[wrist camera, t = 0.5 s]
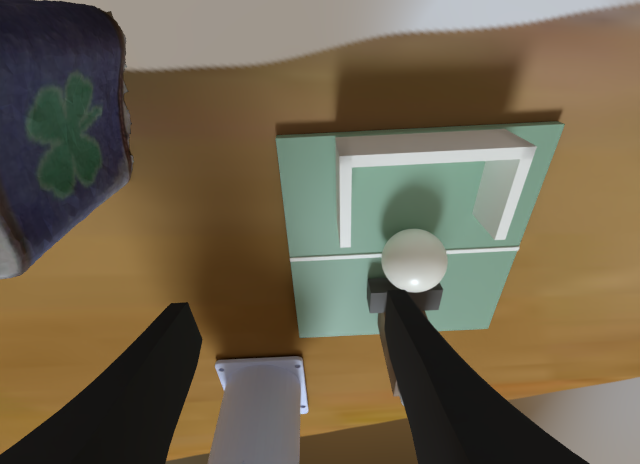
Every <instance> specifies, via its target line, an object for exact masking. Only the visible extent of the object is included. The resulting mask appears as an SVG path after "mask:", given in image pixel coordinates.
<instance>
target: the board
mask: <svg viewBox="0 0 640 464" xmlns="http://www.w3.org/2000/svg"><path fill="white" fill-rule="evenodd" d="M564 125H565V124H563V123H561V122H558V121H553V122H533V123H513V124H493V125H473V126H453V127H433V128H413V129H393V130H373V131H353V132H333V133H313V134H293V135H277V136H276V145H277V154H278V162H279V171H280V179H281V187H282V196H283V204H284V212H285V221H286V229H287V237H288V246H289V254H290V262H291V271H292V279H293V287H294V296H295V304H296V312H297V321H298V329H299V337H300V338H307V337H328V336H348V335H369V334H380V333H379V329H378V324H377V323H378V313H370V312H369V307H368V303H367V283H368V279H373V278H387V277H386V275H385V273H384V271H383V268H382V263H381V256H382V251H383V248H384V246H385V244H386V243H387V241H388V240H389V239H390V238H391V237H392V236H393V235H395V234H396V233H398V232H400V231H403V230H406V229H421V230H425V231H428V232H430V233H431V234H433V235H434V236H436V237H437V238H438V239H439V240H440V241H441V243H442V244H443V246H444V248H445V250H446V253H447V257H448V265H447V270H446V273H445V275H444V277H443V278H442V280H441V281H440V284H441V286H442V288H443V293H442V298H441V302H440V306H439V310H429V311H425V312H426V315H427V318H428V320H429V321H430V323H431V324H432V325H433V326H434V328H435V329H436V330H437V331H451V330H471V329H488V327H489V324H490V322H491V319H492V316H493V314H494V311H495V308H496V306H497V303H498V300H499V298H500V295H501V292H502V290H503V287H504V284H505V282H506V279H507V276H508V274H509V271H510V268H511V266H512V263H513V260H514V258H515V255H516V253H517V251H518V250H519V248H520V247H519V245H520V242H521V239H522V237H523V234H524V231H525V229H526V226H527V223H528V221H529V218H530V215H531V213H532V210H533V207H534V205H535V202H536V199H537V197H538V194H539V191H540V189H541V186H542V183H543V181H544V178H545V176H546V173H547V170H548V168H549V165H550V162H551V160H552V157H553V154H554V152H555V149H556V146H557V144H558V141H559V138H560V136H561V133H562V130H563V128H564ZM492 129H506V130H508V131H509V132H511V133H513V134H515V135H517V136H519V137H521V138H522V139H524V140H526V141H528V142H530V143H532V144H533V145H535V146H537V148H536V151H535V154H534V157H533V160H532V163H531V166H530V169H529V171H528V174H527V177H526V180H525V183H524V186H523V189H522V192H521V195H520V198H519V201H518V204H517V207H516V209H515V212H514V215H513V218H512V221H511V224H510V227H509V230H508V233H507V236H506V239H505V240H494V239H493V238H492V237H491V235H490V234H489V233H488V232H487V231H486V229H485V228H484V227H483V226H482V225H481V224H480V222H479V221H478V220H477V219H476V218H475V217H474V215H473V214H472V212H473V208H474V204H475V201H476V197H477V193H478V189H479V185H480V181H481V177H482V173H483V169H484V166H485V162H486V161H474V162H454V163H434V164H414V165H394V166H374V167H354V168H352V193H351V247H346V248H340V242H339V235H338V227H337V217H336V153H335V137H352V136H372V135H392V134H412V133H432V132H452V131H472V130H492Z"/></svg>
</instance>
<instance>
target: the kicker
mask: <svg viewBox="0 0 640 464" xmlns="http://www.w3.org/2000/svg"><path fill="white" fill-rule="evenodd" d="M387 290H401V289H399V288H397V287H396V286H394V285H393V284H392V283H391V282H390V281H389V280H388V278H373V279H368V283H367V303H368V307H369V312H370V313H378V323H377V324H378V329H379V333H380V338H381V342H382V347H383V351H384V356H385V360H386V365H387V369H388V374H389V378H390V383H391V387H392V392H393V396H400V399H401V403H402V404H403V400H402V397H401V394H400V390H399V387H398V384H397V381H396V377H395V374H394V371H393V367H392V364H391V360H390V357H389V352H388V347H387V342H386V336H385V331H384V325H385V313H386V301H387ZM442 293H443V288H442V286H441V284H440V282H439V283H438V284H437V285H436V286H435V287H433V288H431V289H429V290H427V291H424V292H417V293H414V292H408V294H409V295H410V297H411V298H412V299H413V301H414V302H415V303H416V305H417V306H418V307H419V309H420V310H421V311H422V313H423V314H424V315H425V316H426V318H427V315H426V312H425V311H429V310H439V306H440V302H441V298H442ZM427 319H428V318H427ZM403 406H404V404H403Z"/></svg>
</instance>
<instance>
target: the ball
mask: <svg viewBox="0 0 640 464" xmlns="http://www.w3.org/2000/svg"><path fill="white" fill-rule="evenodd" d="M381 263H382V268H383V271H384V273H385V275H386V277H387V278H388V280H389V281H390V282H391V283H392V284H393V285H394V286H396V287H397V288H399V289H401V290H406V291H407V292H414V293H417V292H424V291H427V290H429V289H431V288H433V287H435V286H436V285H437V284H438V283H439V282H440V281H441V280H442V278H443V277H444V275H445V273H446V270H447V265H448V257H447V253H446V250H445V248H444V246H443V244H442V243H441V241H440V240H439V239H438V238H437V237H436V236H434V235H433V234H431V233H430V232H428V231H425V230H421V229H406V230H403V231H400V232H398V233H396V234H395V235H393V236H392V237H391V238H390V239H389V240H388V241H387V243H386V244H385V246H384V248H383V251H382V256H381Z"/></svg>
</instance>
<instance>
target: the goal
mask: <svg viewBox="0 0 640 464" xmlns="http://www.w3.org/2000/svg"><path fill="white" fill-rule="evenodd" d="M536 148H537V146H535V145H533V144H532V143H530V142H528V141H526V140H524V139H522V138H521V137H519V136H517V135H515V134H513V133H511V132H509V131H508V130H506V129H492V130H472V131H452V132H432V133H412V134H392V135H372V136H352V137H335V153H336V217H337V227H338V235H339V242H340V248H346V247H351V193H352V168H354V167H374V166H394V165H414V164H434V163H454V162H474V161H486V162H485V166H484V169H483V173H482V177H481V181H480V185H479V189H478V193H477V197H476V201H475V204H474V208H473V212H472V214H473V215H474V217H475V218H476V219H477V220H478V221H479V222H480V224H481V225H482V226H483V227H484V228H485V229H486V231H487V232H488V233H489V234H490V235H491V237H492V238H493V239H494V240H505V239H506V236H507V233H508V230H509V227H510V224H511V221H512V218H513V215H514V212H515V209H516V207H517V204H518V201H519V198H520V195H521V192H522V189H523V186H524V183H525V180H526V177H527V174H528V171H529V169H530V166H531V163H532V160H533V157H534V154H535V151H536Z"/></svg>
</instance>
